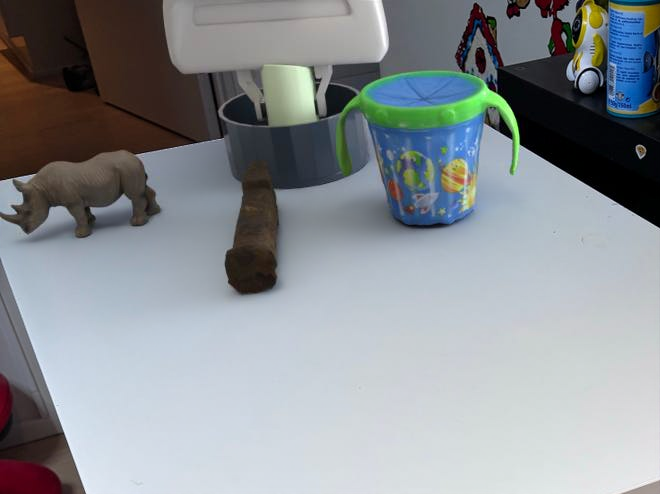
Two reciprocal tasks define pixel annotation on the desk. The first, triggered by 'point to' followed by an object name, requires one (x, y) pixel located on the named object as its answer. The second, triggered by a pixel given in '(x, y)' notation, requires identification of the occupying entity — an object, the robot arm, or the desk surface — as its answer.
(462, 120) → the snack cup
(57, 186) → the rhino figurine
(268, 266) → the brown rough bar
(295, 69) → the candle
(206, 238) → the desk surface
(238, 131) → the tin
